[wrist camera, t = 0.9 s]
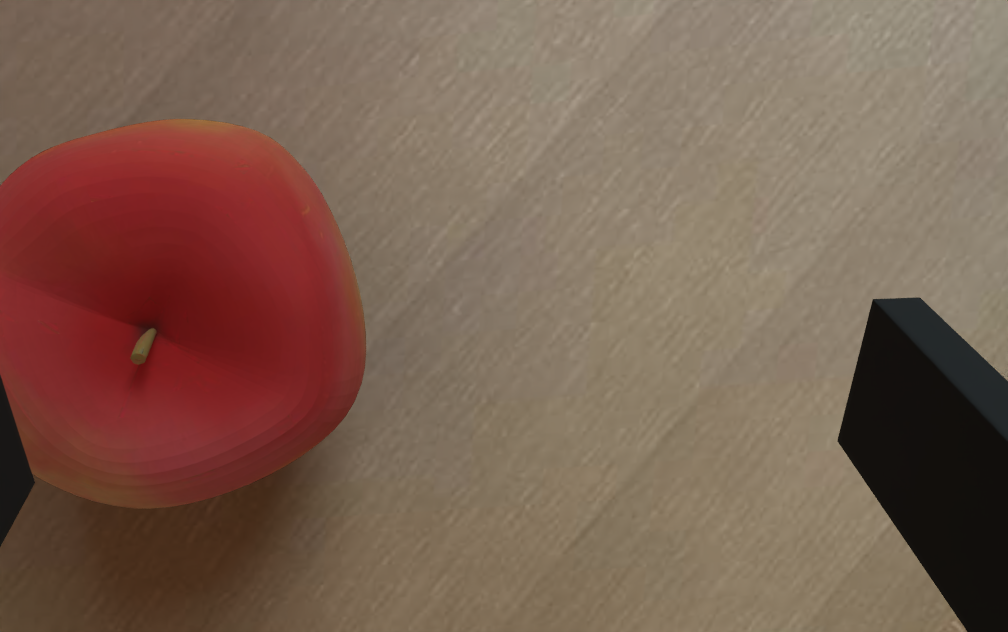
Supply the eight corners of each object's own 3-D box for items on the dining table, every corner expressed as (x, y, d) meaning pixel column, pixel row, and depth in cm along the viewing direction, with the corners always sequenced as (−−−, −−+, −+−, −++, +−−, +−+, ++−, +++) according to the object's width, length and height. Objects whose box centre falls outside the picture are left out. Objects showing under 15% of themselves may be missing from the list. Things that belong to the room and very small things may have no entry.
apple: (60, 99, 26) (-92, 38, 16) (386, 168, 28) (424, 151, 18) (11, 421, 27) (-162, 547, 17) (330, 463, 29) (340, 597, 19)
